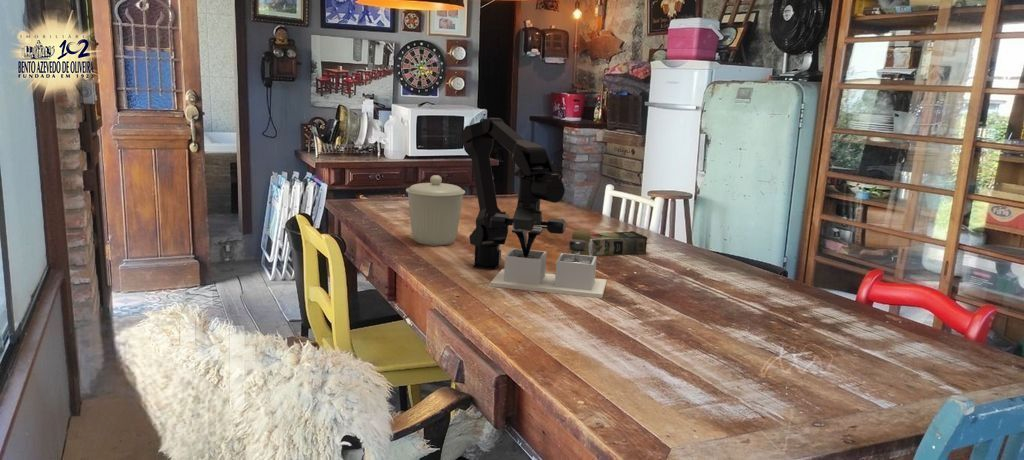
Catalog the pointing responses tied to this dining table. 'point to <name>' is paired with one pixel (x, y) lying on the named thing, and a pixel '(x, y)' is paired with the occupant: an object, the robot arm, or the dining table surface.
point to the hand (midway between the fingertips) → (526, 256)
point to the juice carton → (617, 244)
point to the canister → (434, 211)
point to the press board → (550, 275)
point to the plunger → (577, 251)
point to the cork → (582, 236)
